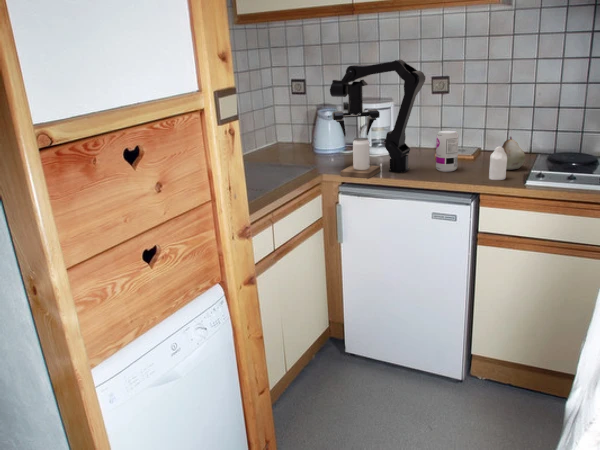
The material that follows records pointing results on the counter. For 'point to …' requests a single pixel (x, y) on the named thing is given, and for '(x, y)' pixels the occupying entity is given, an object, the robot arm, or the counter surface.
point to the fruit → (513, 154)
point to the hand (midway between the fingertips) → (356, 135)
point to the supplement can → (447, 150)
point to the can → (361, 154)
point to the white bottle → (498, 164)
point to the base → (360, 172)
